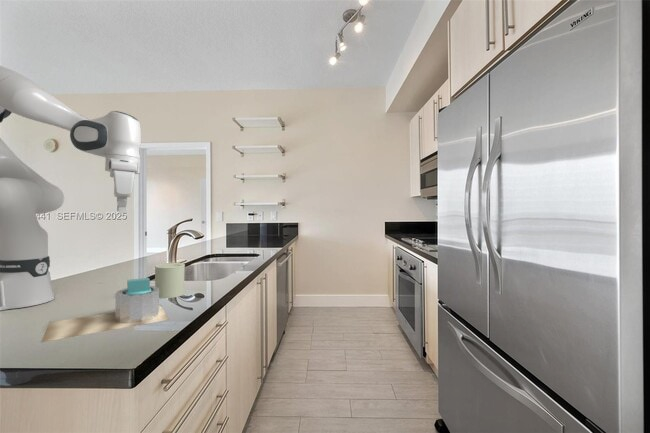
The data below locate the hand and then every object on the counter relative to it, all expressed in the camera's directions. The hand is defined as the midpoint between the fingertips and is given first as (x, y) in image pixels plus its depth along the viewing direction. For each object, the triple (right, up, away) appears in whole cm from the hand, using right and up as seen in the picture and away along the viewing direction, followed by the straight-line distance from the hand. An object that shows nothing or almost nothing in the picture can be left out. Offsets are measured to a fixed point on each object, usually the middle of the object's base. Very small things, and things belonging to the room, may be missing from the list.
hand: (121, 212), depth 93 cm
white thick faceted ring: (+11, -28, -10) cm, 32 cm away
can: (+9, -30, +11) cm, 33 cm away
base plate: (+7, -30, -14) cm, 34 cm away
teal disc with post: (+12, -23, -10) cm, 28 cm away
